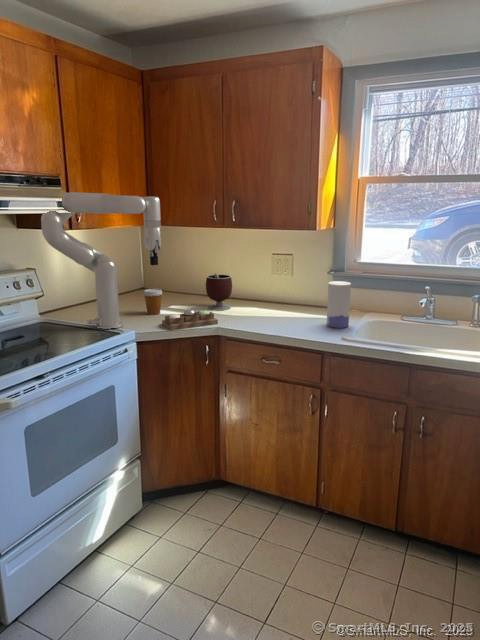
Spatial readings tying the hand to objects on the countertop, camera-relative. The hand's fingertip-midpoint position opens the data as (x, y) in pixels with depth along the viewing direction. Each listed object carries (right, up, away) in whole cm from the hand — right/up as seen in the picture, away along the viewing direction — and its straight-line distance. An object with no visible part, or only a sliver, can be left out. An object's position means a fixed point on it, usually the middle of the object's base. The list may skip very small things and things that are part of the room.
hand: (154, 264), depth 219 cm
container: (+85, -28, 0) cm, 89 cm away
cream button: (+10, -26, -2) cm, 28 cm away
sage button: (+23, -24, +5) cm, 34 cm away
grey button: (+16, -24, +1) cm, 29 cm away
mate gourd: (+29, -20, +33) cm, 48 cm away
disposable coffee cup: (-4, -22, +22) cm, 32 cm away
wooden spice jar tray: (+16, -27, +2) cm, 32 cm away
